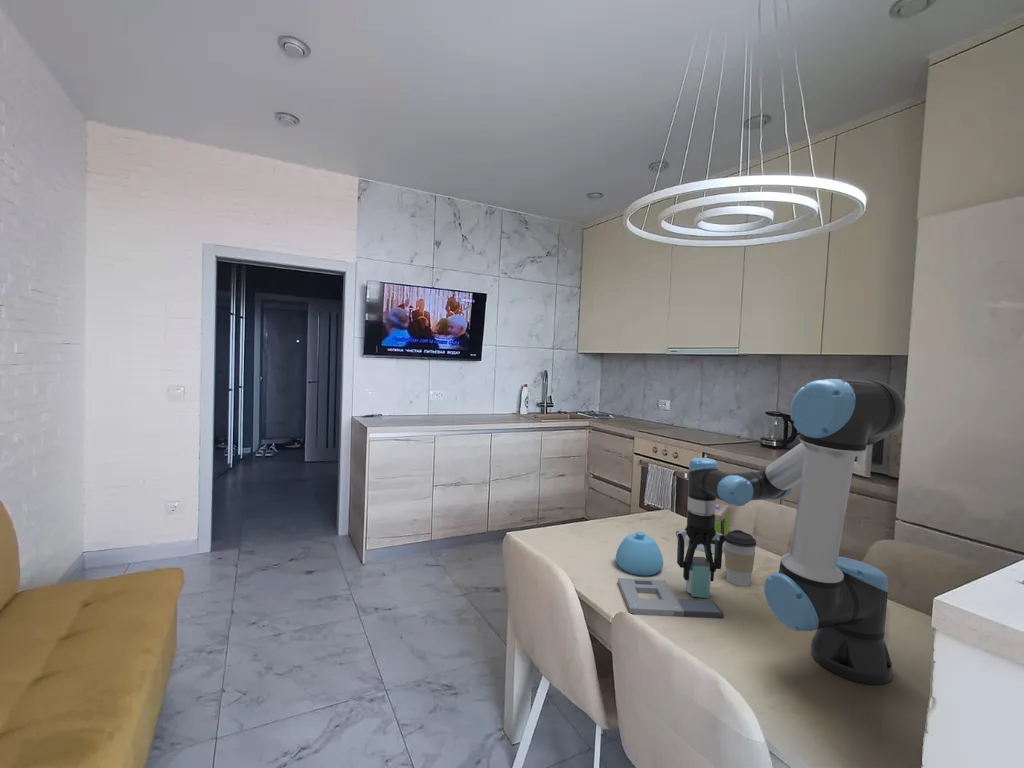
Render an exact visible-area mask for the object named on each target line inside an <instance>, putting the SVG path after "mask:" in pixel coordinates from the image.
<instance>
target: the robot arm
mask: <svg viewBox="0 0 1024 768" xmlns="http://www.w3.org/2000/svg"><path fill="white" fill-rule="evenodd" d="M791 401H792V402H791V404H790V409H789V410H790V411H789V415H790V420H791V421H792V422H793V427H794V428H795V429H796V431H798V433H799V437H798V439H799V441H800V443H798V444H797V445H795V446H794V447H793V448H791V449H790V450H789V451H786V453H784V454H783V455H781V456H780V457H778V458H777V459H775V460H774V461H773V462H772V463H769V465H767V466H766V467H764V468H762V469H761V470H759V471H752V472H751V471H749V472H747V471H746V472H726V471H722V470H719V467H718V462H717V461H716V459H714V458H708V457H694V458H691V459H690V460H689V467H688V472H687V473H688V487H687V489H688V490H687V491H688V495H687V510H688V511H687V513H686V514H687V515H686V527H685V529H684V530H682V531H677V530H676V531H675V536H676V539H677V548H676V549H677V550H676V551H677V553H676V557H677V558H676V564H677V565H678V566H679V568H680V569H681V568H682V569H683V570H682V571H683V575H682V576H683V579H684V581H685V583H686V584H685V589H686V591H687V592H688V593H689V594H690V593H692V570H691V568H690V567H691V563H692V560H693V557H695V552H696V550H695V549H696V548H697V545H700V544H702V545H704V550H705V552H704V553H705V558H706V560H707V561H708V562H709V563H710V573H709V595H710V594H711V582H714V580H715V578H714V577H715V573H716V572H717V570H721V569H722V563H723V561H722V559H723V552H722V546H723V542H724V540H725V536H724V535H722V534H721V533H717V532H716V531H715V528H714V527H715V515H714V513H715V511H716V504H717V501H716V500H720V501H723V502H724V503H725V504H728V505H730V506H731V505H733V506H737V507H743V506H745V505H746V504H748V503H750V501H763V500H764V501H765V500H772V501H773V500H779V499H783V498H786V497H788V496H789V495H790V493H791V490H792V488H793V487H794V486H796V485H798V484H799V483H800V485H799V493H798V500H797V504H796V512H795V517H794V526H793V531H792V537H791V545H790V549H789V550H790V551H789V552H787V553H785V554H783V555H782V556H781V558H780V563H779V569H778V572H772V573H771V574H770V575H768V576H767V577H766V578H765V581H764V585H763V586H764V587H763V588H764V589H763V590H764V595H765V596H764V597H765V599H766V602H767V604H768V607H769V608H770V610H771V612H772V613H773V615H774V616H775V617H776V619H777V620H778V621H779V622H780V623H781V624H783V626H785V627H787V628H789V629H790V630H793V631H795V632H804V631H805V632H814V631H815V633H814V636H813V637H812V638H811V644H810V653H811V655H812V658H813V659H814V660H815V661H816V663H818V664H819V665H820V666H822V667H824V669H826V670H828V671H829V672H832V673H833V674H835V675H837V676H839V677H842V678H844V679H847V680H849V681H853V682H857V683H859V684H865V685H884V684H888V683H889V682H890V681H891V680H892V679H893V663H892V660H891V656H890V654H889V650H888V646H887V644H886V640H885V635H886V630H885V629H886V621H887V617H886V616H887V608H888V607H887V606H888V605H887V604H888V594H889V592H890V591H889V590H890V589H889V583H888V582H889V580H888V576H887V575H886V574H885V572H884V571H882V570H881V569H880V568H877V567H876V566H873V565H871V564H869V563H866V562H863V561H860V560H857V559H853V558H849V557H844V556H840V554H839V553H840V548H841V541H842V537H843V531H844V526H845V520H846V514H847V513H846V512H847V506H848V501H849V495H850V491H851V490H850V489H851V482H852V477H853V471H854V466H855V461H856V457H858V456H859V455H861V454H864V452H866V450H867V447H870V446H872V445H874V444H875V443H877V442H879V441H881V440H883V439H885V438H886V437H888V436H889V435H891V434H892V433H893V432H895V431H896V430H897V429H898V428H899V427H900V426H901V425H902V423H903V421H904V419H905V416H906V409H907V408H906V403H905V400H904V398H903V397H902V394H901V393H899V391H898V390H897V389H895V388H894V387H892V385H890V384H887V383H885V382H883V381H879V380H874V379H873V380H872V379H864V380H863V379H840V378H828V379H827V378H826V379H819V380H817V379H816V380H813V381H810V382H808V383H806V384H805V385H804V386H802V387H801V388H800V389H798V391H797V392H796V393H795V395H794V397H793V398H792V400H791ZM686 536H687V537H688V538H689V540H688V546H687V550H686V554H685V540H686ZM714 536H715V539H716V540H715V552H714V554H712V552H711V544H710V541H711V540H712V539H713V537H714ZM891 678H892V679H891ZM890 679H891V680H890ZM888 681H889V682H888ZM887 682H888V683H887Z"/></svg>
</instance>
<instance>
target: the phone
mask: <svg viewBox="0 0 1024 768" xmlns="http://www.w3.org/2000/svg"><path fill="white" fill-rule="evenodd" d="M676 599H677V601H678V602H679V604H680V606H681V607H682V609H683V610H684V615H683V616H682V617H687V618H689V617H691V618H707V619H708V618H709V619H725V613H724V612H723V611H722V609H721V608H720V606H718V604H717V603H716V602H715V600H704V599H685V598H681V599H680V598H676ZM674 613H677V612H674ZM679 613H680V614H681V612H679ZM682 613H683V612H682Z"/></svg>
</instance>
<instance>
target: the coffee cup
mask: <svg viewBox="0 0 1024 768" xmlns="http://www.w3.org/2000/svg"><path fill="white" fill-rule="evenodd" d="M756 546H757V540H756V539H755V538H754V537H753V536H752V534H750V533H747V532H744V531H743V530H740V529H734V530H732V531H729V533H728V534H726V535H725V549H724V566H725V580H726V582H727V583H730V584H731V585H735V586H738V587H739V586H740V587H747V586H750V585H751V581H752V574H753V571H754V564H755V563H754V562H755V557H756Z"/></svg>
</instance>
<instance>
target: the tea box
mask: <svg viewBox="0 0 1024 768" xmlns="http://www.w3.org/2000/svg"><path fill="white" fill-rule="evenodd" d="M714 515H715V527H714V528H715V531H716V532H717V533H721V534H722V535H724V536H725V535H726V534H728V533H729V532H731V531H730V527H731V526H730V523H731V522H730V521H731V505H730V504H728V505H727V504H723V503H722V504H721V503H716V511H715V513H714ZM715 540H716V539H715V536H714V537H713V539H712V540H711V541H710V544H711V552H712V555H714V552H715ZM695 551H697V552H703V553H705V550H704V545H702V544H700V545H697V548H696V549H695ZM724 552H725V540H724V542H723V546H722V553H724Z"/></svg>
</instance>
